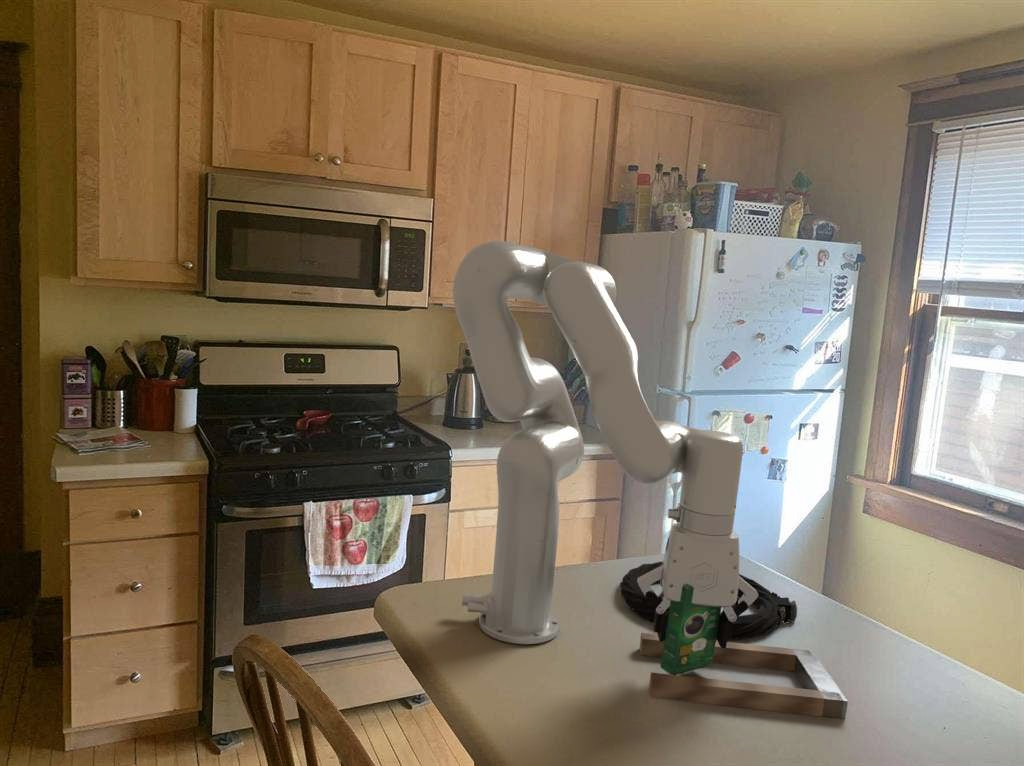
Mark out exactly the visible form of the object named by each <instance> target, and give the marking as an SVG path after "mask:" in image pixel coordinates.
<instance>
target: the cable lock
mask: <svg viewBox="0 0 1024 766" xmlns="http://www.w3.org/2000/svg"><path fill="white" fill-rule="evenodd" d="M662 563H663V561H657V562H652V563H642V564H640V565H639V566H638V567H635V568H631V569H629V571H628V572H627V573H626V574H625V575H623V577H622V580H621V582H620V584H619V588H620V595H621V597H622V598H623V599H624V601H625V603H626V605H627V606H628V607H629V608H630V609H632V610H633V612H635V613H636V614H637V615H639V616H640V617H643V618H645V619H647V620H649V621H651V622H653V623H654V619H655V608H654V607H653V606H652V605H651V604H650V603H649V601H648V600H647V599H646V597H645V595H644V593H643V592H642V590H641V588H640V586H639V585H638V581H637V579H638V578H639V577H640V576H642V575H644V574H646V573H648V572H650V571H652V570H654V569H656V568H658V567H660V566H661V565H662ZM739 576H740V577H741V578H742V579H743V580H745V581H746V582H747V583H748V584H749V585H751V586H752V587H753V588H754V589H755V590H756V591H757V593H758V598H757V599H756V600H755V601H754V602H753V603H752V604H753V605H755V606H756V607H757V608H758V609H759V610H757V611H756V613H750V614H743V615H742V614H741V615H739V616H738V617H737V619H736V621H734V622H733V626H732V633H731V639H733V640H734V639H750V638H753V637H754V638H755V637H759V636H763V635H766V634H767V633H768V632H770V631H772V630H774V629H775V628H776V627H777V626H778V627H780V625H782V624H783V623H785V622H789V623H790V622H791V621H793V622H795V621H796V619H797V617H798V607H797V603H796V601H795V599H793V600H791V601H790V598H789V597H786V596H785V597H781V596H780V595H778V593H776V592H774V591H772V592H771V590H769V589H767V588H766V587H764V586H763V585H761V584H760V583H758V582H757V581H755V580H753V579H751V578H749V577H746V576H745V575H742V574H740V573H739ZM656 582H660V580H658V581H656ZM656 582H655V583H656ZM738 594H739V596H741V597H742V595H743V594H744V592H743V591H741V590H740V589H739V588H738ZM669 609H670V606H669V607H668V608H667V609H666V612H667V615H668V616H669ZM790 620H791V621H790ZM783 621H784V622H783ZM667 622H668V619H667ZM793 622H792V623H793ZM716 639H717V637H716Z"/></svg>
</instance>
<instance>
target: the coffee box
mask: <svg viewBox="0 0 1024 766" xmlns="http://www.w3.org/2000/svg"><path fill="white" fill-rule="evenodd" d="M693 590H694V587H692V586H690V585H683V586H682V592H681V598H680V602H672V601H671V603H670V609H669V616H668V622H667V628H666V635H665V641H664V648H663V654H662V657H661V661H660V668H661V669H662V670H663V671H664V672H666V674H670V675H683V674H685V673H687V672H692V671H695V670H699V669H704V668H707V667H710V666H713V662H712V661H713V656H714V649H715V643H716V641H717V638H716V637H717V631H718V625H719V618H720V614H721V611H722V607H713V606H703V605H695V604H693V603H692V597H693Z"/></svg>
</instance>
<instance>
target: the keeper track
mask: <svg viewBox="0 0 1024 766" xmlns="http://www.w3.org/2000/svg"><path fill="white" fill-rule="evenodd" d="M663 648H664V641H663V642H661V641H659V638H658V634H657V633H655V634H654V633H647V632H641V633H640V642H639V652H640V655H641V656H649V657H650V656H651V657H658V658H662V654H663ZM714 662H716V663H717V664H723V663H726V664H725V665H732V664H733V665H734V666H743V665H744V667H751V666H755V667H754V668H760V667H764V669H770V668H774V669H773V670H779V669H782V670H781V671H788V670H789V671H792V672H794V674H795V673H796V674H795V676H796V677H797V678H798V680H799V682H800V683H801V685H802V686H803V688H800V687H799V688H798V687H789V686H788V687H787V686H778V685H770V684H760V683H751V682H742V681H733V680H723V679H715V678H705V677H697V676H688V675H687V676H686V675H680V674H677V675H670V674H668V673H659V672H650V676H649V677H650V678H649V686H648V687H649V688H648V692H649V696H650V698H651V699H659V700H660V699H661V700H670V701H678V702H687V703H697V704H708V705H715V706H725V707H733V708H735V707H736V708H743V709H752V710H760V711H769V712H779V713H788V714H796V715H807V716H816V717H825V718H832V719H833V718H834V719H840V720H841V719H843V720H846V716H847V709H848V702H849V701H848V699H847V698H846V696H845V694H844V693H843V692H842V691H841V690H840V688H839V686H838V685H837V683H836V682H835V681H834V679H833V678H832V676H831V675H830V674H829V672H828V671H827V670H826V668H825V667H824V665H823V664H822V662H821V661H820V659H819V658H818V657H817V655H816V654H815V652H814V651H813V650H807V649H798V648H787V647H780V646H779V647H778V646H770V645H759V644H749V643H742V642H733V641H727V645H726V648H721V647H720V645H719V643H718V641H717V640H716V643H715V649H714V656H713V661H712V663H714ZM716 663H715V664H716ZM733 665H732V666H733Z"/></svg>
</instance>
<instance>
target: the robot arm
mask: <svg viewBox="0 0 1024 766" xmlns="http://www.w3.org/2000/svg"><path fill="white" fill-rule="evenodd" d="M454 275H455V276H454V280H453V286H452V299H453V305H454V310H455V314H456V316H457V320H458V322H459V324H460V328H461V330H462V332H463V335H464V339H465V340H466V344H467V347H468V350H469V351H468V352H469V355H470V358H471V361H472V364H473V367H474V370H475V374H476V376H477V379H478V380H477V381H478V382H479V386H480V390H481V393H482V396H483V399H484V402H485V404H486V407H487V409H488V411H489V412H490V413H491V415H492V416H493V417H495V419H497V420H499V421H501V422H505V423H507V422H508V423H513V422H514V423H515V422H520V425H521V427H522V429H520V430H518V431H516V432H515V433H513V434H512V435H510V436H509V437H507V439H506V440H505V441H504V443H503V444H502V445H501V447H500V449H499V452H498V455H497V459H496V460H497V461H496V480H497V496H498V497H497V498H498V499H497V502H498V503H497V504H498V505H497V518H496V531H495V533H496V534H495V543H494V545H495V546H494V556H493V558H494V559H493V569H492V582H491V588H490V590H489V593H483V594H482V595H476V594H472V593H465V592H464V593H462V598H461V599H462V601H461V607H467V612H468V613H479V616H478V625H479V628H480V629H481V630H482V631H483V632H484V634H486V635H488V636H489V637H491V638H493V639H496V640H498V641H501V642H503V643H504V642H505V643H509V644H517V645H537V644H542V643H546V642H548V641H550V640H552V639H554V638H555V637H557V635H558V634H559V632H560V621H559V618H557V616H556V615H555V614H554V613H552V606H553V605H552V604H553V593H554V583H555V571H556V563H557V562H556V560H557V551H558V539H559V528H560V501H559V500H560V499H559V487H558V486H559V482H562V480H564V479H566V478H569V477H570V476H572V475H573V474H575V472H577V470H578V469H579V468H580V466H581V464H582V462H583V460H584V455H585V444H584V439H583V435H582V431H581V429H580V425H579V423H578V420H577V419H578V418H577V417H576V413H575V410H574V408H573V404H572V402H571V399H570V396H569V392H568V390H567V386H566V384H565V381H564V379H563V378H562V376H561V374H560V372H559V371H558V369H557V368H556V367H555V366H554V365H553V364H552V363H550V362H549V361H547V360H545V359H543V358H538V357H531V356H530V354H529V351H528V349H527V346H526V343H525V340H524V337H523V336H524V335H523V333H522V330H521V327H520V325H519V324H518V321H517V319H516V318H515V316H514V315H513V313H512V311H511V309H510V307H509V304H508V299H510V300H512V299H514V300H524V301H529V302H531V303H535V304H539V305H542V306H545V307H547V308H548V309H549V311H550V313H551V316H552V317H553V319H554V320H555V322H556V324H557V326H558V329H559V330H560V332H561V333H562V336H563V337H564V339H565V341H566V343H567V344H568V346H569V348H570V350H571V352H572V354H573V356H574V358H575V359H576V361H577V363H578V365H579V367H580V369H581V371H582V373H583V376H584V378H585V384H586V391H587V394H588V397H589V402H590V406H591V409H592V413H593V416H594V419H595V422H596V424H597V426H598V429H599V431H600V433H601V435H602V436H603V438H604V440H605V442H606V444H607V447H608V448H609V450H610V452H611V453H612V455H613V457H614V459H615V461H616V462H617V464H618V465H619V467H620V468H621V469H622V470H623V472H625V474H626V475H627V476H628V477H629V478H631V479H632V480H634V481H636V482H638V483H641V484H655V483H658V482H661V481H662V480H664V479H666V478H667V477H668V476H670V475H673V474H677V473H680V474H681V475H682V478H681V489H680V497H679V502H678V504H677V506H676V508H668V509H667V519H672V520H673V521H675V522H676V523H675V522H674V523H673V524H672V525H671V529H670V531H669V535H668V537H667V540H666V544H665V545H666V546H665V550H664V554H663V558H662V562H663V563H662V565H661V566H660V567H658V568H656V569H654V570H652V571H650V572H648V573H646V574H644V575H642V576H640V577H639V578H638V579H637V581H638V585H639V586H640V588H641V590H642V592H643V593H644V595H645V597H646V599H647V600H648V601H649V603H650V604H651V605H652V606H653V607H654V608H655V619H654V622H653V632H654V633H655V634H658V638H659V641H661V642H663V641H665V635H666V629H667V619H668V615H667V612H666V609H667V608H668V607H669V606H670V603H671V601H672V602H680V598H681V592H682V586H683V585H690V586H692V587H694V590H693V597H692V603H693V604H695V605H703V606H713V607H721V609H722V610H721V611H722V612H720V618H719V625H718V631H717V638H716V641H718V643H719V645H720V647H721V648H726V645H727V642H728V641H731V633H732V626H733V622H734V621H736V619H737V617H738V616H742V614H743V613H745V612H746V611H747V610H748V609H749V607H750V605H751V606H752V604H753V602H754V601H755V600H756V599H757V598H758V593H757V591H756V590H755V589H754V588H753V587H752V586H751V585H749V584H748V583H747V582H746V581H745V580H743V579H742V578H741V577H740V576H739V574H740V540H739V539H740V538H739V535H738V534H737V533H736V532H735V531H734V525H735V516H736V511H737V510H736V508H737V500H738V491H739V484H740V477H741V470H742V462H743V455H744V444H743V441H742V440H741V439H740V438H739V437H738V436H737V435H736V434H735V435H734V434H732V433H729V432H724V431H718V430H709V429H697V428H694V427H690V426H687V425H684V424H681V423H678V422H674V421H671V420H665V419H664V420H663V419H662V420H656V419H655V418H654V416H653V414H652V412H651V410H650V408H649V407H648V404H647V402H646V401H645V398H644V394H643V393H642V390H641V386H640V382H639V377H638V366H639V365H638V364H639V351H638V347H637V344H636V342H635V340H634V339H633V337H632V335H631V334H630V332H629V330H628V328H627V326H626V325H625V323H624V321H623V319H622V317H621V315H620V313H619V312H618V310H617V308H616V307H615V304H616V301H617V295H618V293H617V286H616V282H615V280H614V278H613V276H612V275H611V274H610V273H609V272H608V271H607V270H606V269H605V268H604V267H602V266H600V265H597V264H593V263H589V262H585V261H582V260H581V261H580V260H577V259H573V258H570V257H567V256H564V255H560V254H557V253H554V252H550V251H547V250H545V249H540V248H537V247H534V246H529V245H525V244H524V245H523V244H520V243H514V242H511V241H506V240H494V241H493V240H492V241H487V242H482V243H481V244H479V245H477V246H475V247H474V248H473V249H471V250H470V251H469V252H468V253H467V254H466V255H465V256H464V257H463V259H462V261H461V262H460V263H459V266H458V268H457V270H456V272H455V274H454ZM658 580H660V581H658ZM656 581H657V582H659V584H660V587H661V591H660V592H659V594H658V595H657V593H655V591H653V588H652V587H651V585H652V584H654V583H656ZM738 588H739V589H740V590H741V591H743V592H744V594H743V595H742V596H741V597H739V598H738Z"/></svg>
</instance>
